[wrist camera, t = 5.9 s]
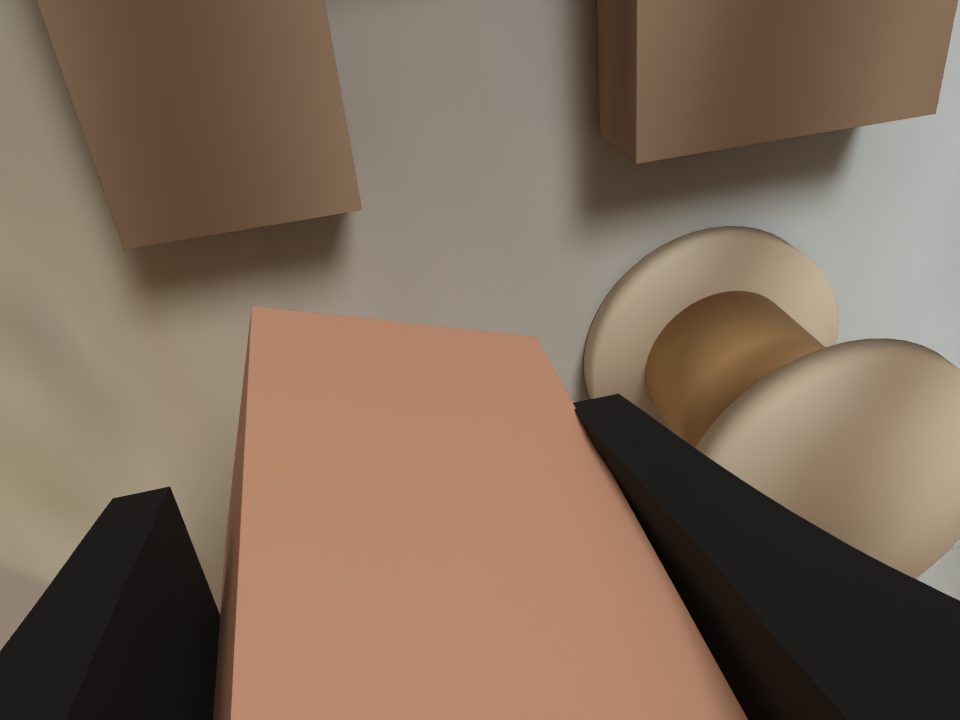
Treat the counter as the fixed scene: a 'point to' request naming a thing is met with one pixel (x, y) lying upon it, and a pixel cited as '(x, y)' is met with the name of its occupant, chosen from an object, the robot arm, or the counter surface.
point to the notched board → (321, 119)
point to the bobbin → (787, 390)
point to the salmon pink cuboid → (437, 541)
